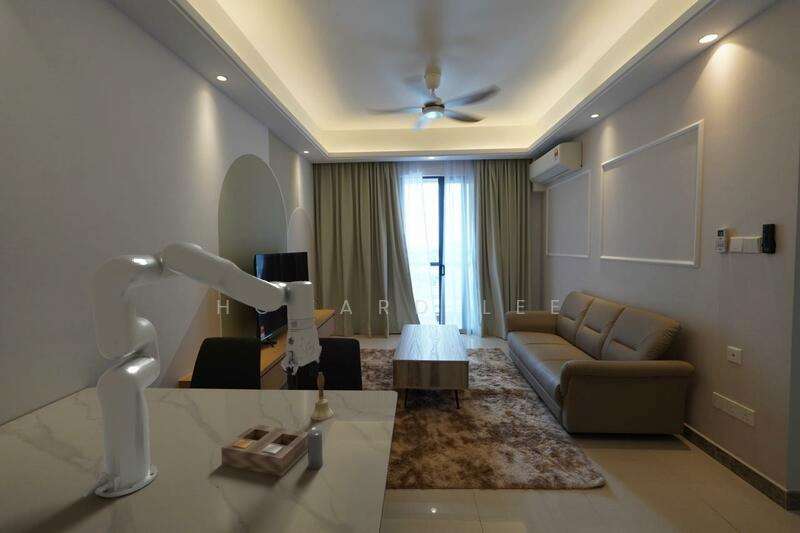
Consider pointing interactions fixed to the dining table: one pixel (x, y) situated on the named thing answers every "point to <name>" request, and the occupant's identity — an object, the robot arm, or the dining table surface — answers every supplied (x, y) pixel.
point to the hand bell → (321, 403)
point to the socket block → (265, 449)
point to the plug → (315, 449)
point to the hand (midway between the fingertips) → (303, 381)
